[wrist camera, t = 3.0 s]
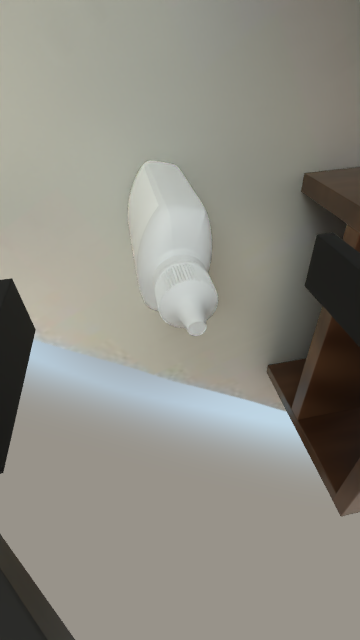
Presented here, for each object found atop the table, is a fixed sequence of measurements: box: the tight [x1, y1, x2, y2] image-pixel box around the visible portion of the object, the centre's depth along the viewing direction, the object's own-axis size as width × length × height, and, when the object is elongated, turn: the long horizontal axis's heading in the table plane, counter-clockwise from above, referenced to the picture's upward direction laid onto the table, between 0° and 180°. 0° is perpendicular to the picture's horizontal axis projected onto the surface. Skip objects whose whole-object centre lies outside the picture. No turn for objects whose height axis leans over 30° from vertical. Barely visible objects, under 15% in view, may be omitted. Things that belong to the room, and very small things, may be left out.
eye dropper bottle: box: [128, 160, 218, 336], centre depth 16 cm, size 4×6×12 cm
